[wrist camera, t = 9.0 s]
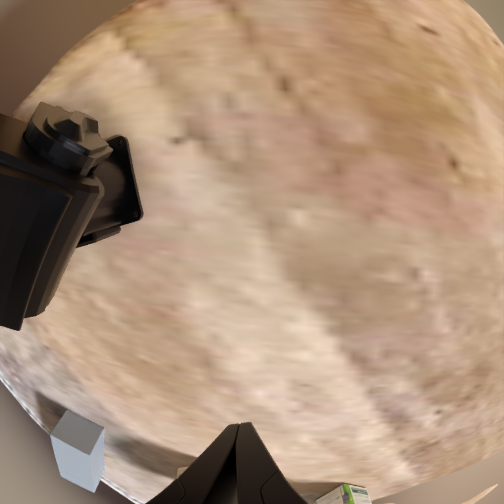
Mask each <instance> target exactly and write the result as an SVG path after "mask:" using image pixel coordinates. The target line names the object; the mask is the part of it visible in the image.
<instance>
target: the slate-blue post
mask: <svg viewBox="0 0 504 504" xmlns="http://www.w3.org/2000/svg"><path fill="white" fill-rule="evenodd" d="M50 437H51V441H52V445H53V449H54V453H55V456H56V460H57V464H58V467H59V471H60V474H61V476H62V477H64V478H65V479H67V480H70V481H71V482H73V483H75V484H77V485H79V486H81V487H83V488H85V489H87V490H90V491H92V492H95V490H96V488H97V485H98V483H99V481H100V478H101V476H102V474H103V471H104V427H102V426H100V425H98V424H95V423H93V422H91V421H89V420H87V419H85V418H83V417H81V416H79V415H77V414H75V413H73V412H72V411H70V410H68V409H67V411H66V412H65V413H64V415H63V416H62V418H61V419H60V420H59V422H58V423H57V425H56V426H55V428H54V429H53V431H52V432H51V434H50Z"/></svg>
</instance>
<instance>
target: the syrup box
mask: <svg viewBox="0 0 504 504" xmlns="http://www.w3.org/2000/svg"><path fill="white" fill-rule="evenodd" d="M316 504H372V503H371V500H370V497H369V494H368V491H367V489H366V488H362V487H358V486H353V485H348V484H345V483H344V484H342V485H341V486H339V487H337V488H336V489H334V490H332V491H331V492H329V493H327V494H325V495H324V496H322V497H320V498H319V499H317V500H316Z"/></svg>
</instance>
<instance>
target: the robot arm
mask: <svg viewBox="0 0 504 504" xmlns="http://www.w3.org/2000/svg"><path fill="white" fill-rule="evenodd" d="M121 140H123V144H122V145H121V146H120V145H119V143H120V141H121ZM135 211H137V212H138V217H135V215H134V212H135ZM142 217H143V209H142V205H141V201H140V197H139V192H138V188H137V183H136V179H135V174H134V169H133V164H132V159H131V154H130V149H129V143H128V140H127V138H126V137H123V136H119V137H116V138H114V139H111V140H109V141H105V140H103V139H102V138H101V137H100V134H99V133H98V121H97V120H95V119H94V118H92V117H91V116H88V115H86V114H84V113H81V112H78V111H74V112H71V113H68V112H67V111H65V110H64V109H62V108H61V107H59V106H56V107H52V106H50V105H48V104H46V103H44V102H40V104H39V105H38V107H37V109H36V110H35V112H34V114H33V116H32V117H31V119H30V121H29V123H26V122H23V121H20V120H17V119H15V118H12V117H9V116H6V115H3V114H0V326H4V327H7V328H10V329H13V330H16V331H20V330H21V326H22V323H23V319H24V318H28V317H33V316H37V315H39V314H41V313H42V312H44V311H45V308H46V306H48V305H49V303H50V301H51V300H52V298H53V297H54V295H55V292H56V290H57V287H58V285H59V283H60V280H61V278H62V276H63V274H64V271H65V269H66V267H67V265H68V263H69V260H70V258H71V256H72V254H73V252H74V250H75V248H78V247H82V246H85V245H88V244H92V243H95V242H97V241H100V240H102V239H105V238H108V237H110V236H113V235H115V234H118V233H119V232H120V230H121V228H120V226H122V225H125V224H128V223H132V222H135V221H139V220H141V219H142ZM145 504H308V503H307V502H306V501H305V500H304V499H303V498H302V497H301V496H300V495H299V494H298V493H297V492H296V491H295V490H294V489H293V488H292V486H291V485H290V484H289V482H288V481H287V480H286V478H285V477H284V475H283V474H282V472H281V471H280V469H279V468H278V466H277V465H276V463H275V461H274V460H273V458H272V457H271V455H270V453H269V452H268V450H267V448H266V447H265V445H264V443H263V442H262V440H261V438H260V437H259V435H258V433H257V431H256V430H255V428H254V426H253V424H252V423H251V422H245V423H241V424H230V425H228V426H227V427H226V428H225V429H224V431H223V432H222V433H221V434H220V435H219V436H218V437H217V438H216V439H215V440H214V441H213V442H212V443H211V444H210V446H209V447H208V448H207V449H206V450H205V451H204V452H203V453H202V454H201V455H200V456H199V457H198V458H197V459H196V460H195V461H194V462H193V463H192V464H191V465H190V466H189V467H188V468H187V469H186V470H185V471H184V472H183V473H182V474H181V475H180V476H179V477H178V478H176V479H175V480H174V481H173V482H172V483H171V484H170V485H169V486H168V487H166V488H165V489H164V490H163V491H162V492H161V493H159V494H158V495H157V496H155V497H154V498H153V499H151V500H150V501H148V502H147V503H145Z"/></svg>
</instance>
